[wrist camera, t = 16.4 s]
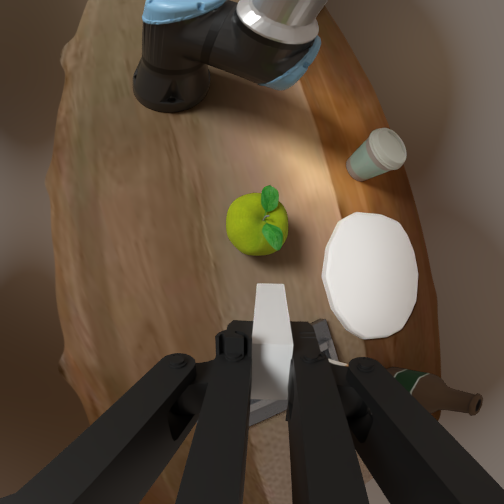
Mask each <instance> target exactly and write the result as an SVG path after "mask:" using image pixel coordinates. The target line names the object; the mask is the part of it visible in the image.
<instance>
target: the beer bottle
mask: <svg viewBox="0 0 504 504" xmlns="http://www.w3.org/2000/svg"><path fill="white" fill-rule="evenodd" d="M386 370H387V371H388V372H389V373H390V374H391V375H392V376H393V377H394V378H395V379H396V380H397V381H398V382H399V383H400V384H401V385H402V386H403V387H404V388H405V389H406V390H407V391H408V392H409V393H410V394H411V395H412V396H413V397H414V398H415V399H416V400H417V401H418V402H419V403H420V404H421V405H422V406H423V407H424V408H425V409H426V410H427V411H428V412H429V413H430V414H431V413H433V412H436V411H438V410H450V411H457V412H463V413H469V414H470V415H471V416H472V415H476V414H477V413H478V412H479V410H480V408H481V406H482V401H483V398H482V396H481V395H480V394H478V393H477V394H476V395H474V394H470V393H466V392H463V391H459V390H455V389H452V388H450V387H448V386H447V385H446V384H445V383H444V381H443V380H442V379H441V378H440V377H438V376H437V375H433V374H430V373H424V372H419V371H413V370H408V369H403V368H398V367H391V368H388V369H386Z"/></svg>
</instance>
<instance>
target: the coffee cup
mask: <svg viewBox="0 0 504 504" xmlns="http://www.w3.org/2000/svg"><path fill="white" fill-rule="evenodd" d="M406 155H407V153H406V148H405V145H404V143H403V141H402V140H401V139H400V137H399V136H398V135H397V134H396V133H395V132H394V131H392V130H391V129H388V128H381V129H376V130H374V131H372V132H371V134H370V137H369V138H368V139H367V140H366V141H365V142H364V143H363V144H362V145H361V146H360V147H359V148H358V149H357V150H356V151H355V152H354V153H353V154H352V155H351V156H350V157H349V158H348V160H347V162H346V167H347V170H348V173H349V174H350V175H351V177H352V178H354V179H355V180H357V181H364V180H367V179H370V178H372V177H375V176H377V175H380V174H383V173H385V172H388V171H390V170H397V169H399V168H400V167H401V166H402V165H403V163H404V161H405V160H406V157H407V156H406Z"/></svg>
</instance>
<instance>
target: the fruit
mask: <svg viewBox="0 0 504 504" xmlns="http://www.w3.org/2000/svg"><path fill="white" fill-rule="evenodd" d="M278 199H279V194H278V191H277V190H276V189H275V188H274V187H272V186H270V185H269V186H266V187H264V188H263V190H262V193H250V194H246V195H243V196H241V197H239V198H237V199H236V200H235V201H234V202H233V203H232V204H231V205H230V207H229V209H228V212H227V218H226V230H227V235H228V238H229V240H230V241H231V242H232V244H233V245H234V246H235V247H236V248H237V249H238V250H239V251H241V252H242V253H244V254H246V255H255V256H260V255H268V254H272V253H274V252H276V251H277V250H280V249H281V247H282V245H283V244H284V242H285V240H286V238H287V235H288V217H287V212H286V210H285V208H284V206H283V205H282V204H281V203H280V202H279V201H278Z"/></svg>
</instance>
